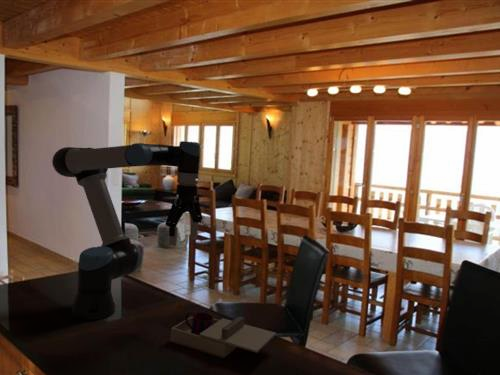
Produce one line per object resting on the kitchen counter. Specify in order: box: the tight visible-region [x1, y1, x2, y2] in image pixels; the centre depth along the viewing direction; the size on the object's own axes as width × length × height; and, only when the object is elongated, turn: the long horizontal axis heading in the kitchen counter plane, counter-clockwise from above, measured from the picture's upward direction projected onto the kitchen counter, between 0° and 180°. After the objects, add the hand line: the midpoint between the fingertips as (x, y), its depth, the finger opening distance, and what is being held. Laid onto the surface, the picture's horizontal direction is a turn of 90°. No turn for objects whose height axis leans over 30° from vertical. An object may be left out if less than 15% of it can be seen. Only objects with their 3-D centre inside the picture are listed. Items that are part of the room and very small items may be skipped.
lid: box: [199, 316, 277, 353], centre depth 139 cm, size 20×15×4 cm
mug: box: [184, 311, 214, 335], centre depth 146 cm, size 7×10×7 cm
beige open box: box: [169, 315, 238, 359], centre depth 144 cm, size 20×15×4 cm
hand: (183, 242), depth 159 cm, fingers open, 13 cm apart
